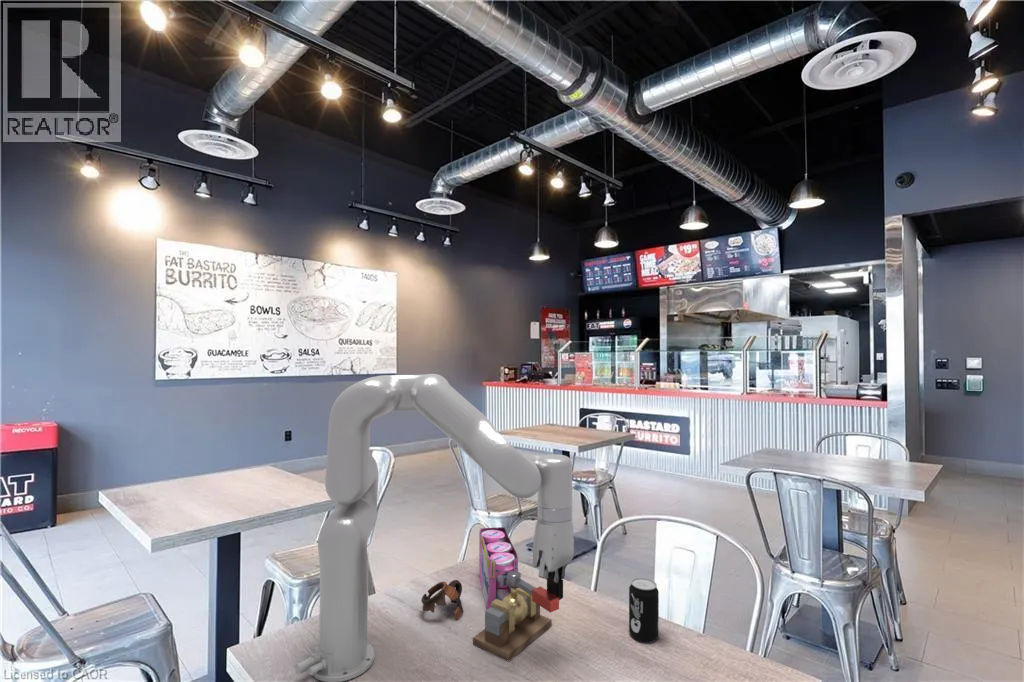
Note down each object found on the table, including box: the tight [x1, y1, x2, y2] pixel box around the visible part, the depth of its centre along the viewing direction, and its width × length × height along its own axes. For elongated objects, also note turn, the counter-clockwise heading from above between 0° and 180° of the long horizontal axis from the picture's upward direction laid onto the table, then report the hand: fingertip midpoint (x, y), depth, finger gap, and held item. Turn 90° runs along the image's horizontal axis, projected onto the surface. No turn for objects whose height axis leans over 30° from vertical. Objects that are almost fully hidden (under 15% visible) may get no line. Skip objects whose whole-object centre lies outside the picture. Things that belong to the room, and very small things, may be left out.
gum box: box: [478, 527, 519, 610], centre depth 131 cm, size 24×8×14 cm, turn 10°
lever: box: [508, 571, 560, 613], centre depth 107 cm, size 16×3×3 cm, turn 37°
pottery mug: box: [420, 579, 464, 621], centre depth 122 cm, size 12×10×8 cm
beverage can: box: [628, 577, 660, 644], centre depth 112 cm, size 7×7×12 cm
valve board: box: [472, 604, 553, 662], centre depth 112 cm, size 17×10×6 cm, turn 143°
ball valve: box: [484, 585, 537, 636], centre depth 112 cm, size 16×6×8 cm, turn 143°
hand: (555, 597), depth 105 cm, fingers closed
